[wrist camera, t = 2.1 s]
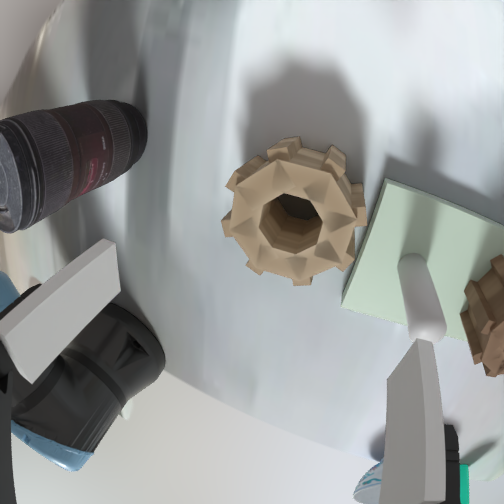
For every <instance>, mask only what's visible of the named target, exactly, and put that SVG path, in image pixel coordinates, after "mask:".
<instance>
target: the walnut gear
mask: <svg viewBox="0 0 504 504" xmlns="http://www.w3.org/2000/svg"><path fill="white" fill-rule="evenodd" d="M490 262H491V267H492V268H491V269H490V270H489V271H488V272H487V273H486V274H485V275H484V276H483V277H482V278H481V279H480V280H479V281H478V282H476V281H473V280H471V279H470V281H469V283H468V284H467V286H466V288H465V290H464V293H465V295H466V298H467V300H468V302H469V305H468V309H467V310H466V311H464V312H462V313H460V318H461V322H462V325H463V328H464V331H465V334H466V337H467V341H468V344H469V347H470V350H471V354H472V357H473V361H474V365H476V364H478V363H480V362H482V363H483V366H484V369H485V373H486V376H490V377H496V376H497V375H500V374H504V256H503V255H502V254H500V255H498V256H496V257H495V258H493V259H491V260H490Z"/></svg>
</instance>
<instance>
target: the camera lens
mask: <svg viewBox="0 0 504 504" xmlns="http://www.w3.org/2000/svg"><path fill="white" fill-rule="evenodd" d="M146 142H147V131H146V125H145V122H144V119H143V117H142V115H141V114H140V113H139V111H138V110H137V109H136V108H135V107H133V106H132V105H130V104H127V103H124V102H119V101H115V100H92V101H86V102H81V103H77V104H74V105H69V106H64V107H59V108H55V109H50V110H36V111H31V112H27V113H24V114H20V115H16V116H13V117H9V118H5V119H3V120H0V230H1V231H3V232H5V233H14V232H16V231H17V230H25V229H27V228H28V227H30V226H32V225H34V224H35V223H37V222H39V221H40V220H42V219H44V218H45V217H47V216H49V215H51V214H52V213H54V212H56V211H58V210H59V209H60V208H62V207H63V206H64V205H66V204H67V203H68V202H69V201H71V200H73V199H75V198H77V197H79V196H81V195H83V194H85V193H87V192H89V191H91V190H93V189H96V188H98V187H101V186H103V185H105V184H107V183H109V182H111V181H113V180H115V179H116V178H117V177H119V176H120V175H122V174H123V173H125V172H127V171H128V170H129V169H130V168H131V167H132V165H133V164H134V163H136V162H137V161H138V160H139V159H140V158H141V156H142V154H143V152H144V150H145V146H146Z"/></svg>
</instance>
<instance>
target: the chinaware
mask: <svg viewBox="0 0 504 504" xmlns="http://www.w3.org/2000/svg"><path fill="white" fill-rule="evenodd" d="M383 461H384V457H383V458H382V459H381V460H380V463H378V464H377V465H375V466H374V467H372V468H371V469H370V470H369V471H368V472H367V473H366V474H365V475H364V476H363V477H362V478H361V480H360V481H359V483H358V485H357V487H356V489H355V491H354V494H353V499H354V500H356V501H357V502H360V503H363V504H378V503H379V496H380V489H381V481H382V472H383Z"/></svg>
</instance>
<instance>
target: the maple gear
mask: <svg viewBox="0 0 504 504" xmlns="http://www.w3.org/2000/svg"><path fill="white" fill-rule="evenodd" d="M267 155H268V159H269V160H268V161H266V160H264V159H263V158H261V157H260V156H258V155H257V156H256V157H254V158H253V159H251V160H250V161H248V162H247V163H246V164H244V165H243V166H241V167H240V168H238V169H237V170H235V171H234V173H233V175H232V176H231V178H230V179H229V181H228V183H227V184H226V186H225V187H227V188H228V189H230V190H231V191H233V192H234V199H233V206H232V210H231V211H230V212H229V213H228V214H227V215H226V216H225V217H224V218H223V219H222V220H221V223H222V227H223V230H224V234H225V237H234V238H235V240H236V241H237V242H238V244H239V245H240V247H241V248H242V249H243V251H244V252H245V254H246V255H247V256H248V258H249V261H248V262H247V264H246V266H247V267H249V268H250V269H251V270H253V271H254V272H256V273H257V274H258V275H261V274H262V273H263V271H267V272H271V273H274V274H277V275H281V276H284V277H287V278H291V279H292V280H293V286H301V285H311V283H312V278H313V276H314V275H316V274H319V273H321V272H323V271H326V270H328V269H330V268H332V267H335V266H336V267H337V268H338V269H340V270H341V271H342V272H343V271H344V270H345V269H346V268H347V267H348V266H349V265H350V264H351V263H352V262H353V261H354V260H355V231H354V227H358V226H367V217H366V206H365V199H364V193H363V187H362V183H357V184H351V183H350V181H349V180H348V178H347V176H346V174H345V173H344V172H345V171H346V155H345V154H344V153H343V152H341V151H340V150H339V149H337V148H336V147H335V146H333V145H332V146H331V147H330V148H329V150H328V151H327V152H326V153H323V152H319V151H315V150H311V149H307V148H303V147H302V144H301V139H300V136H298V137H292V138H285V139H283V140H281V141H280V142H278V143H277V144H275V145H274V146H272V147H271V148H269V149H268V150H267ZM283 193H286V194H290V195H293V196H297V197H301V198H304V199H308V200H310V201H311V203H312V204H313V206H314V208H315V209H316V211H317V212H318V214H319V215H317V216H315V217H313V218H311V219H309V220H303V219H300V218H296V217H292V216H289V215H288V214H287V213H286V211H285V210H284V208H283V206H282V205H281V203H280V202H279V200H278V196H280V195H281V194H283Z"/></svg>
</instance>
